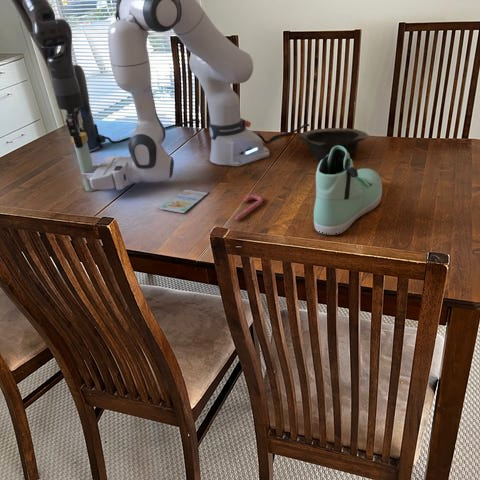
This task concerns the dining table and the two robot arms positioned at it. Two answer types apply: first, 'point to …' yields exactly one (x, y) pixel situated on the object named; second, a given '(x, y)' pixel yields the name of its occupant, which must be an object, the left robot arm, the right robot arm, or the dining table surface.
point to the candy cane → (250, 206)
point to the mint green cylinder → (85, 163)
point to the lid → (83, 137)
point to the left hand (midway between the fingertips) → (80, 144)
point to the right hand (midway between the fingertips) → (85, 172)
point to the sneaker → (343, 192)
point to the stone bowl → (332, 140)
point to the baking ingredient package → (183, 201)
